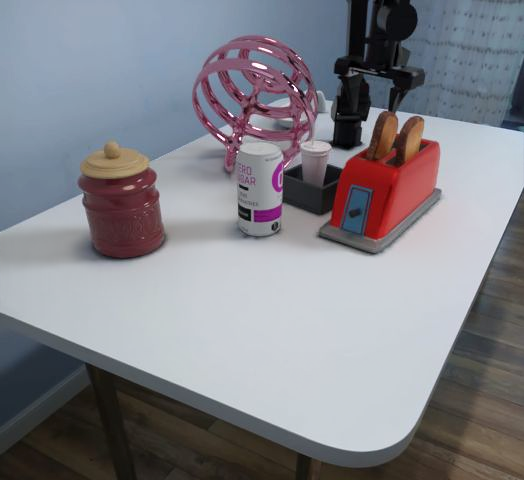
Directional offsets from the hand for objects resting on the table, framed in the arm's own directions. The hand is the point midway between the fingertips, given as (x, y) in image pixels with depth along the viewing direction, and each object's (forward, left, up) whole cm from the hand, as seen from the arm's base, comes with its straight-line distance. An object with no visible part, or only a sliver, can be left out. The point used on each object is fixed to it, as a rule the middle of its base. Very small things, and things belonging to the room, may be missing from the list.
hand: (371, 116), depth 106 cm
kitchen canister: (-14, -56, -13) cm, 59 cm away
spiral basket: (-22, -12, -13) cm, 28 cm away
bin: (0, -18, -13) cm, 22 cm away
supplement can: (0, -36, -13) cm, 38 cm away
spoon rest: (-36, +22, -13) cm, 44 cm away
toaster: (+15, -15, -13) cm, 25 cm away
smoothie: (-1, -18, -12) cm, 22 cm away
